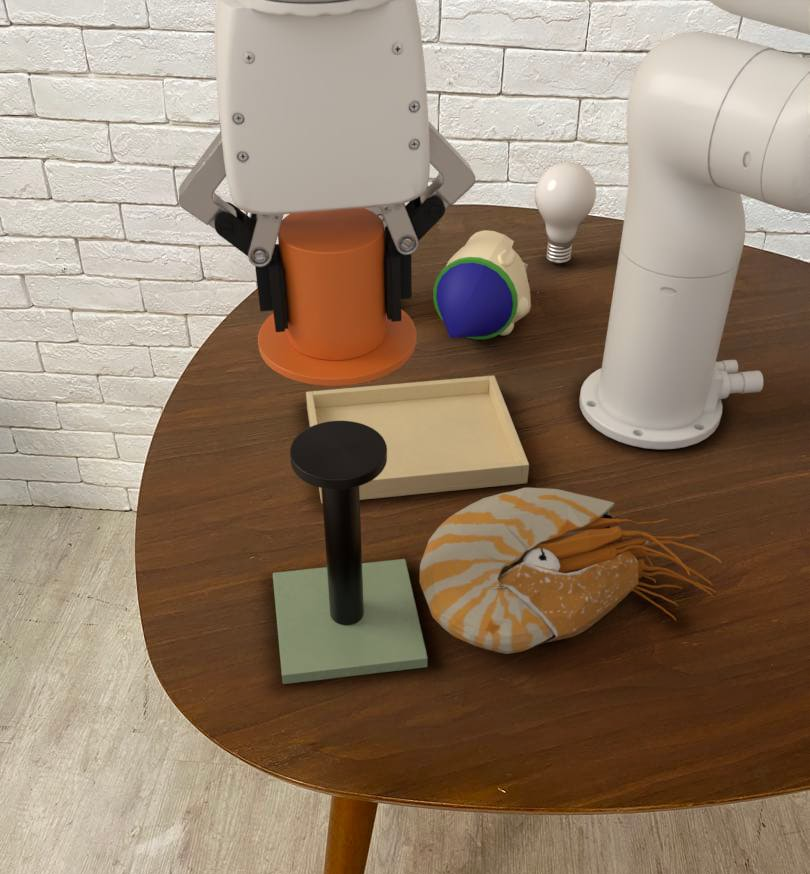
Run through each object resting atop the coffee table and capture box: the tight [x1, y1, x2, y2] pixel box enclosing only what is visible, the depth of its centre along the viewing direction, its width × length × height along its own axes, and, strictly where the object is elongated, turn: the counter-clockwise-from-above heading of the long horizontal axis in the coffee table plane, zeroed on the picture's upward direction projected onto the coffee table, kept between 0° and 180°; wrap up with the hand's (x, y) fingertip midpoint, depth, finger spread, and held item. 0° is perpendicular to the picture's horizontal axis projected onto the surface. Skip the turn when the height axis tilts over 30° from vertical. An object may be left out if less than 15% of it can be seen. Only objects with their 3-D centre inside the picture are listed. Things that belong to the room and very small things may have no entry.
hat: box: [257, 208, 417, 387], centre depth 58 cm, size 9×9×7 cm
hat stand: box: [272, 421, 429, 685], centre depth 70 cm, size 10×10×16 cm
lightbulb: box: [534, 161, 597, 265], centre depth 111 cm, size 6×6×11 cm
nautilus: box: [419, 487, 723, 655], centre depth 74 cm, size 8×22×15 cm
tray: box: [305, 375, 530, 505], centre depth 90 cm, size 17×13×2 cm
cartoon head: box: [432, 229, 532, 340], centre depth 103 cm, size 9×10×20 cm
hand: (335, 311), depth 59 cm, fingers closed on hat, 5 cm apart
